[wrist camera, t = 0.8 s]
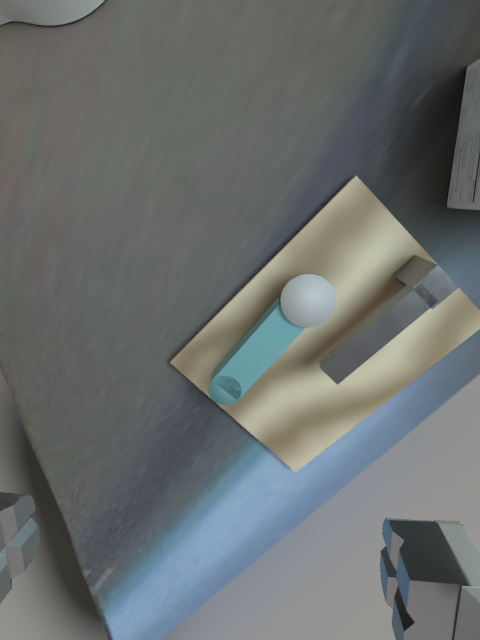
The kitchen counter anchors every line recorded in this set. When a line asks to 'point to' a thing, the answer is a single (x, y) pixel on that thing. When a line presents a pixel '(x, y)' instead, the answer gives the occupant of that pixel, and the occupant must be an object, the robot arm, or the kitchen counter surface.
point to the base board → (329, 329)
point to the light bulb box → (467, 146)
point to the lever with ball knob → (272, 335)
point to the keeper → (390, 316)
